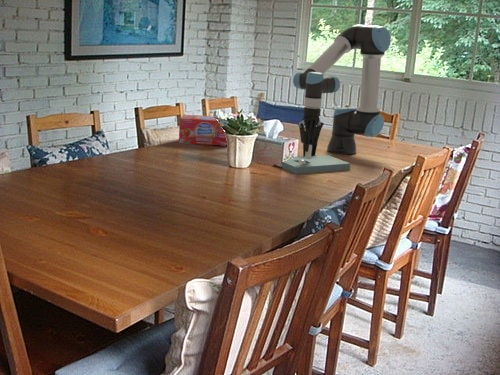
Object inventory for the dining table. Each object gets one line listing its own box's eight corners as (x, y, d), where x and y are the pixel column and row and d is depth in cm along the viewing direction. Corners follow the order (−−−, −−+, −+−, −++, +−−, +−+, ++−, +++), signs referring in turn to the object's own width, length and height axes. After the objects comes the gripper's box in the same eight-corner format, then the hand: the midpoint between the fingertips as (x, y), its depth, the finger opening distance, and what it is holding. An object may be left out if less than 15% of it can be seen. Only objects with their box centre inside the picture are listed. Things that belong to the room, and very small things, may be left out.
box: (177, 143, 331) (178, 117, 327) (182, 138, 343) (183, 113, 340) (230, 147, 328) (231, 121, 325) (233, 142, 341) (234, 117, 337)
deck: (326, 161, 311) (327, 154, 310) (349, 169, 296) (350, 163, 295) (274, 164, 296) (274, 158, 295) (295, 174, 281) (296, 167, 280)
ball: (304, 159, 295) (297, 157, 293) (309, 161, 292) (302, 159, 289) (301, 168, 295) (294, 165, 293) (306, 170, 292) (299, 167, 290)
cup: (316, 157, 318) (318, 133, 315) (316, 160, 311) (318, 136, 308) (301, 155, 319) (303, 132, 316) (300, 159, 311) (302, 134, 308)
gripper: (319, 105, 293) (314, 156, 300) (295, 106, 287) (291, 157, 293) (329, 108, 287) (324, 159, 293) (305, 108, 281) (300, 161, 287)
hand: (307, 158), depth 293 cm, fingers closed
